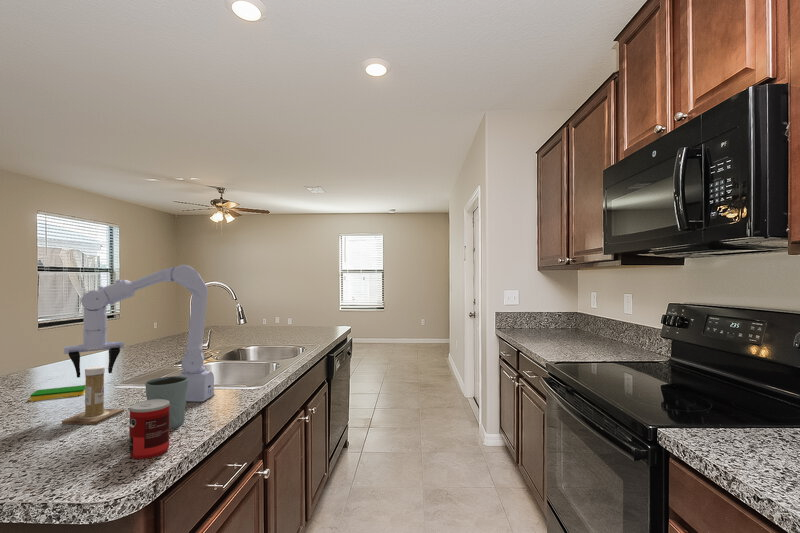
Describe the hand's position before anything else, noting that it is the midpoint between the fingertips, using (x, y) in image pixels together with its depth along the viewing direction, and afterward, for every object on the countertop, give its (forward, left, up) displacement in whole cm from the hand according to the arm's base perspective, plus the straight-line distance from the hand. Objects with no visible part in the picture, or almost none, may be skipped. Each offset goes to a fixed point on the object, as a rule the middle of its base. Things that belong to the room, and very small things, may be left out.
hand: (94, 374), depth 122 cm
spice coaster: (-6, +7, -10) cm, 14 cm away
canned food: (-37, +28, -11) cm, 48 cm away
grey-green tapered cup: (-30, +11, -11) cm, 34 cm away
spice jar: (-6, +7, -10) cm, 13 cm away
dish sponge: (+23, -13, -11) cm, 29 cm away
